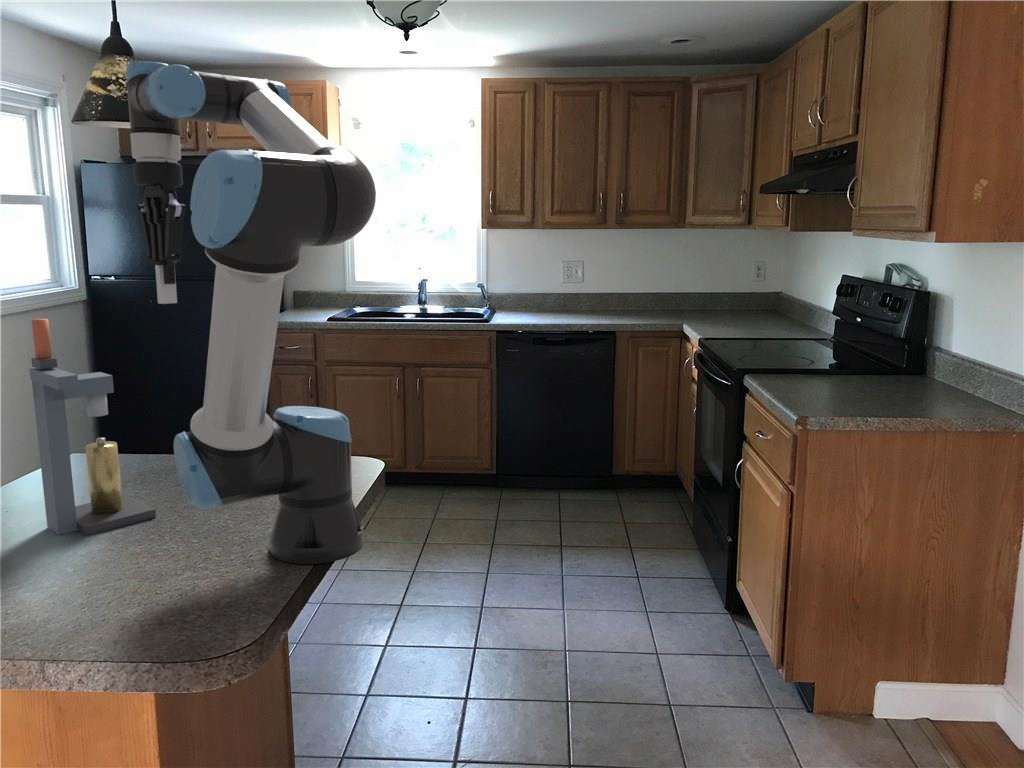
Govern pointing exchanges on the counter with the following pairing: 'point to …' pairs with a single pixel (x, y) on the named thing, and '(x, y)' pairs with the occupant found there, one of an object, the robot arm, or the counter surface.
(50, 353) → the lever
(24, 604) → the counter surface
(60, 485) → the press
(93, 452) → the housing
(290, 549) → the robot arm
